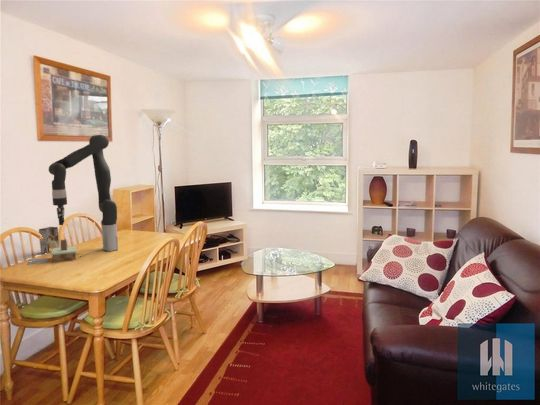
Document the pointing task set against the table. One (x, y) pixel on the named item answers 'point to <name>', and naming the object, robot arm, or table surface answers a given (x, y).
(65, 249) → the lid
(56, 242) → the coffee box
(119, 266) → the table surface
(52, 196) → the robot arm
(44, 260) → the mat
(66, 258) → the box
